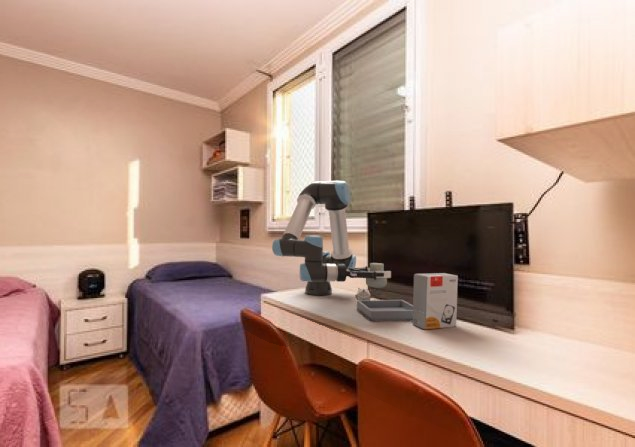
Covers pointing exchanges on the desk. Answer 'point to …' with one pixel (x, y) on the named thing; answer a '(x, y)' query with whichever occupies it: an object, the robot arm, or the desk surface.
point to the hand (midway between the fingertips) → (386, 272)
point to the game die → (363, 294)
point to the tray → (385, 310)
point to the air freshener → (379, 281)
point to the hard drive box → (435, 300)
